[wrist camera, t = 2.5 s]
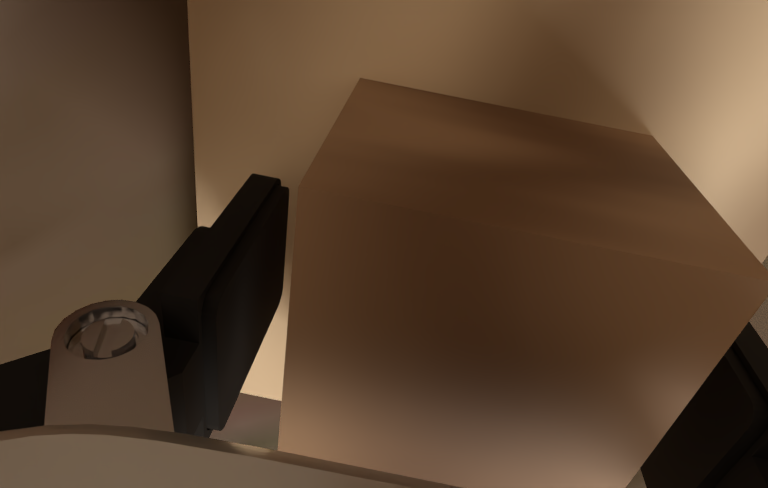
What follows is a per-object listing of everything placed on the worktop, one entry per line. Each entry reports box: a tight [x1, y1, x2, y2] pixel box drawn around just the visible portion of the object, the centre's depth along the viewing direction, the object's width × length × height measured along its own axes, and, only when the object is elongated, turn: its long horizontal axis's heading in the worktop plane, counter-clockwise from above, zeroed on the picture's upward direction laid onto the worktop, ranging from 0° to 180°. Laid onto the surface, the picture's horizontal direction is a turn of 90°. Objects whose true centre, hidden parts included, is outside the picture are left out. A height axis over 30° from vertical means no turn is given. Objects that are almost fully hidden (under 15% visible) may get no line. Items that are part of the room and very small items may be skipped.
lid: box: [187, 0, 768, 488], centre depth 10 cm, size 12×12×5 cm
